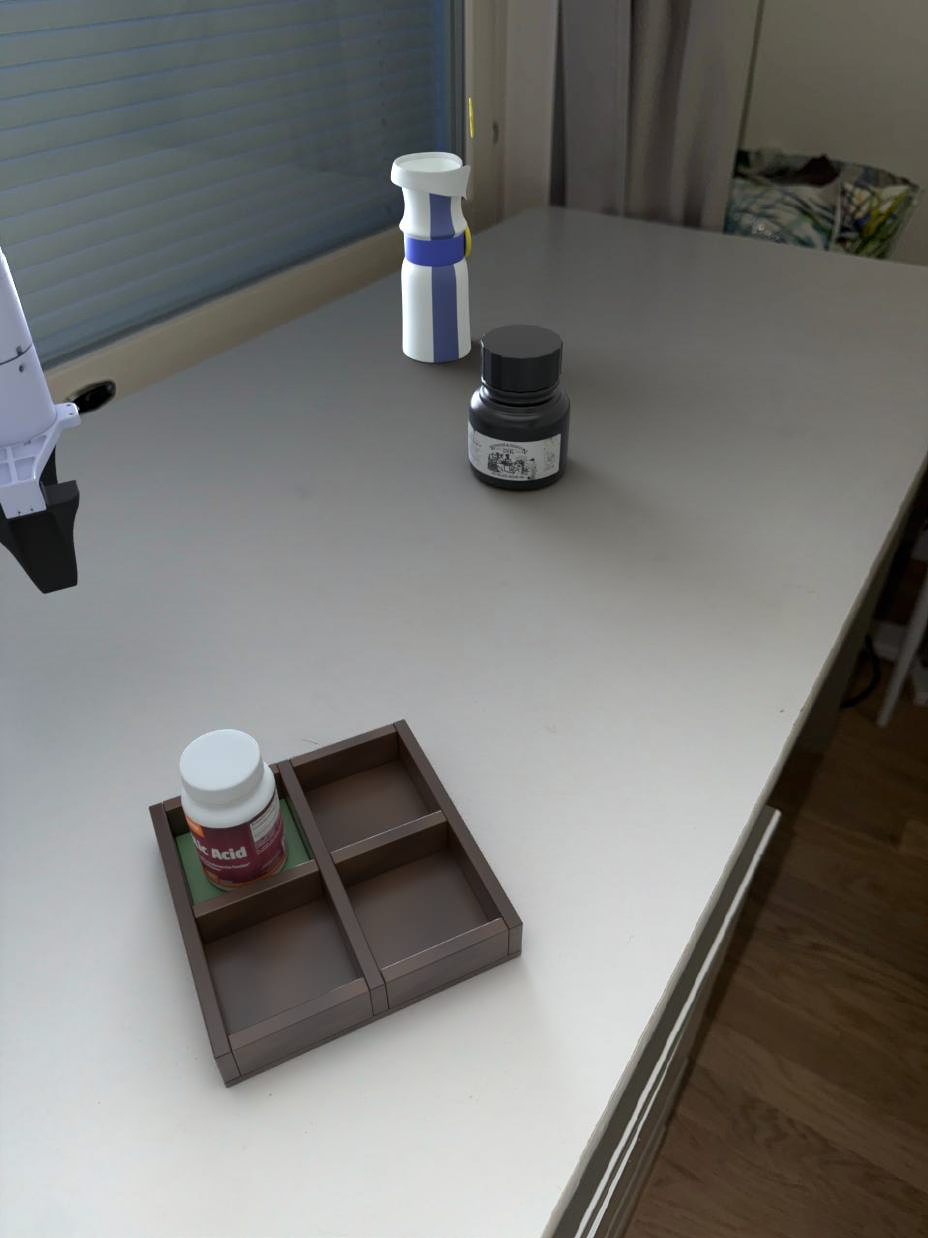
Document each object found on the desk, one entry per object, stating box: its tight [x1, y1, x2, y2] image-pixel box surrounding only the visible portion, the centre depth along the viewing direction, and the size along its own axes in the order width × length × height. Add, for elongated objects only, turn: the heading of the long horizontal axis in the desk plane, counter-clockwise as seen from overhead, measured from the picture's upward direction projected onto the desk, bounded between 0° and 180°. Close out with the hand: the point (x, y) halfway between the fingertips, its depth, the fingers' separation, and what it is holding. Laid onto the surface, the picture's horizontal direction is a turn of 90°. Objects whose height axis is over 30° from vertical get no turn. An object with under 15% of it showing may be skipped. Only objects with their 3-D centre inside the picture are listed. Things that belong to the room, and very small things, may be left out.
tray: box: [148, 718, 524, 1089], centre depth 49 cm, size 15×15×3 cm
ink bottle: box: [467, 323, 572, 490], centre depth 80 cm, size 10×9×12 cm
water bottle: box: [390, 97, 475, 364], centre depth 96 cm, size 8×9×25 cm
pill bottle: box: [178, 728, 288, 892], centre depth 48 cm, size 5×5×8 cm
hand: (52, 553), depth 58 cm, fingers open, 7 cm apart
